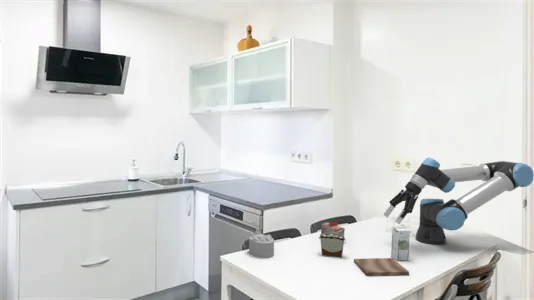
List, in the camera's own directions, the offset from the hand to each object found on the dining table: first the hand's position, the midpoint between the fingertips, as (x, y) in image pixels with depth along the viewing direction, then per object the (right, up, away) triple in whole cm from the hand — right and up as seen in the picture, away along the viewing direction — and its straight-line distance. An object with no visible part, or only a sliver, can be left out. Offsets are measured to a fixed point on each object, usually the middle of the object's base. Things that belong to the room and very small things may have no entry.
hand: (390, 219), depth 181 cm
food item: (-27, -15, +15) cm, 34 cm away
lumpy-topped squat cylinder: (-64, -15, -8) cm, 67 cm away
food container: (-31, -16, -8) cm, 35 cm away
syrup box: (0, -16, -13) cm, 21 cm away
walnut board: (-13, -16, -25) cm, 33 cm away
